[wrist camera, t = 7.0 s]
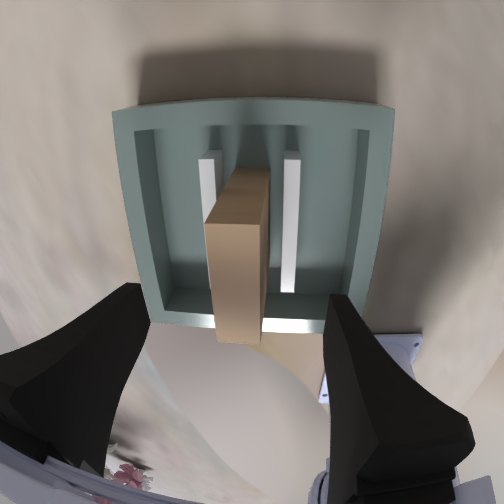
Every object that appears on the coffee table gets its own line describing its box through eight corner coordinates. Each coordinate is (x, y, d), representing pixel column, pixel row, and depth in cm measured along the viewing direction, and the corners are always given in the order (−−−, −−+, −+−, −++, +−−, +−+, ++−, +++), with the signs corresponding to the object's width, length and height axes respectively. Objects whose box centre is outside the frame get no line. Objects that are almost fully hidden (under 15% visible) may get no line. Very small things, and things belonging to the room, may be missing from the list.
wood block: (269, 259, 21) (260, 344, 14) (239, 257, 21) (217, 341, 15) (270, 167, 18) (259, 224, 11) (235, 167, 18) (203, 223, 12)
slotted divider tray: (351, 303, 23) (357, 333, 20) (165, 294, 24) (151, 321, 21) (377, 103, 16) (394, 108, 13) (137, 105, 17) (111, 111, 14)
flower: (66, 453, 50) (84, 553, 32) (20, 412, 37) (32, 549, 19) (148, 446, 57) (177, 548, 39) (125, 405, 43) (160, 551, 25)
